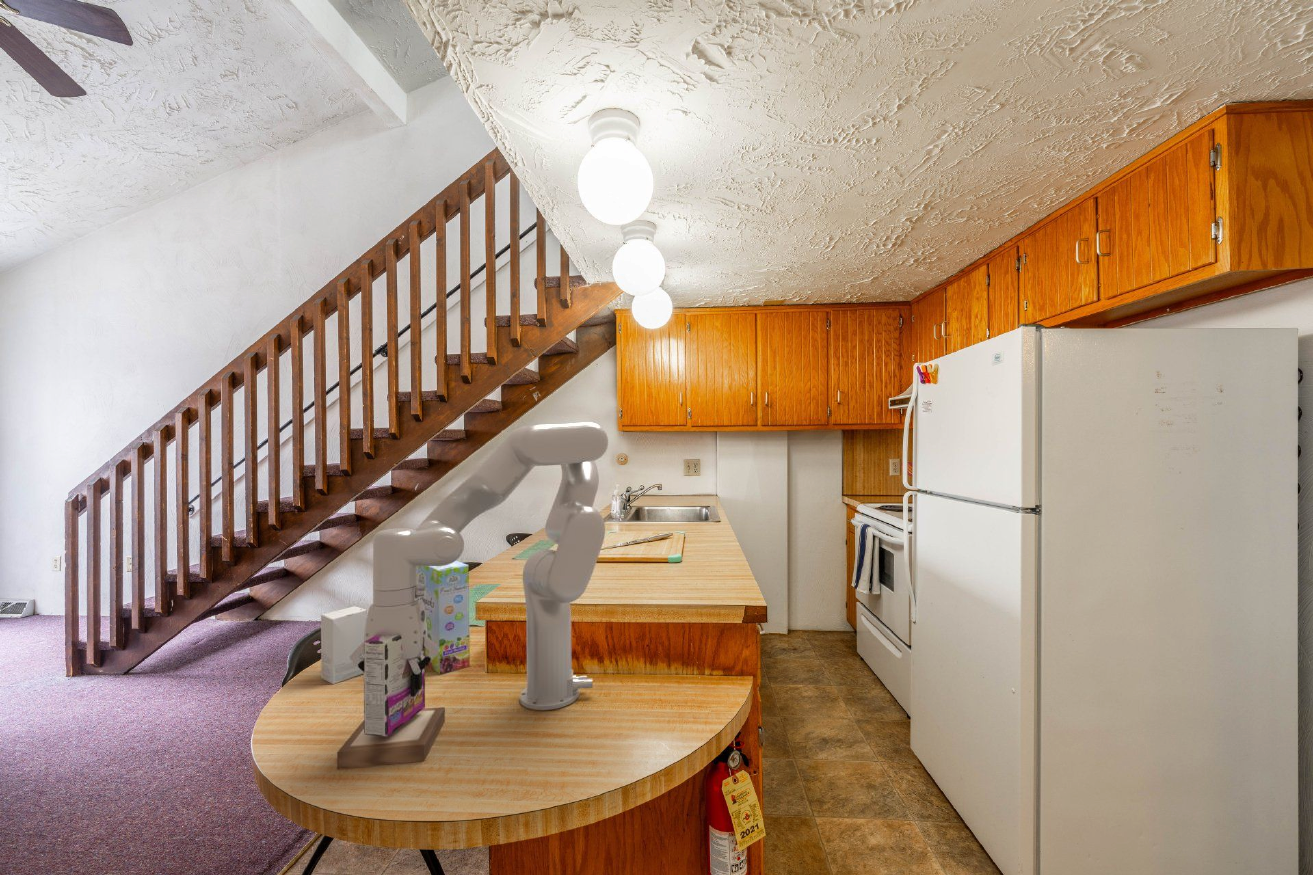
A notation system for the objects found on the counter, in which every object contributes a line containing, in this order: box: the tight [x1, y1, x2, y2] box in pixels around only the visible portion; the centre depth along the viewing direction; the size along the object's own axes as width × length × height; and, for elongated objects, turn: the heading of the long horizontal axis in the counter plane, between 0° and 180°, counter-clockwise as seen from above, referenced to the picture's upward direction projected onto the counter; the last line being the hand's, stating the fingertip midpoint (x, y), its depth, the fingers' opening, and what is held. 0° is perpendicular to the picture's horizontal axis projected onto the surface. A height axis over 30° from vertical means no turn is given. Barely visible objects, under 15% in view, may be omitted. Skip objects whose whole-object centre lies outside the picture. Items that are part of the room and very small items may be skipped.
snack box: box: [418, 560, 471, 675], centre depth 139 cm, size 22×9×26 cm, turn 43°
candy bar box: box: [363, 635, 426, 737], centre depth 98 cm, size 11×5×16 cm, turn 170°
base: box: [336, 706, 446, 770], centre depth 98 cm, size 14×14×3 cm
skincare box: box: [320, 605, 368, 685], centre depth 129 cm, size 8×7×16 cm
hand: (395, 694), depth 98 cm, fingers closed on candy bar box, 6 cm apart
